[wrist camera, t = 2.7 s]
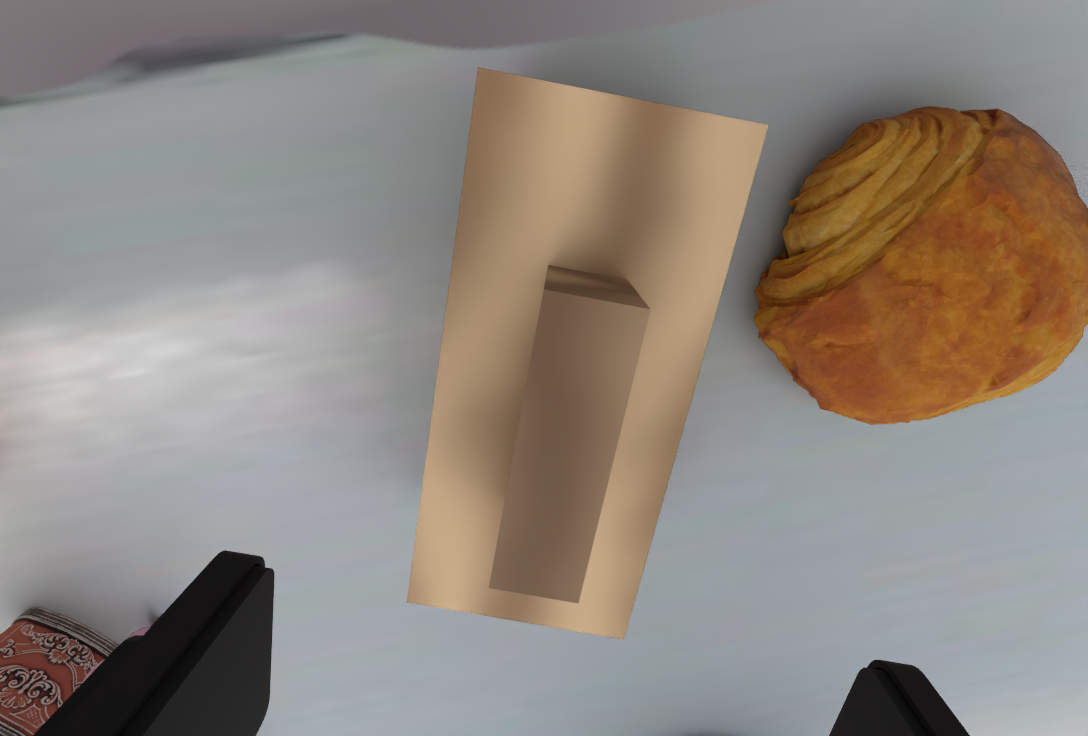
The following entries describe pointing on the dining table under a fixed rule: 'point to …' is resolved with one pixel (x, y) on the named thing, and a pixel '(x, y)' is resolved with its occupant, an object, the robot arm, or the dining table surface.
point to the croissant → (929, 267)
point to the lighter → (43, 667)
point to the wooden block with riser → (571, 345)
